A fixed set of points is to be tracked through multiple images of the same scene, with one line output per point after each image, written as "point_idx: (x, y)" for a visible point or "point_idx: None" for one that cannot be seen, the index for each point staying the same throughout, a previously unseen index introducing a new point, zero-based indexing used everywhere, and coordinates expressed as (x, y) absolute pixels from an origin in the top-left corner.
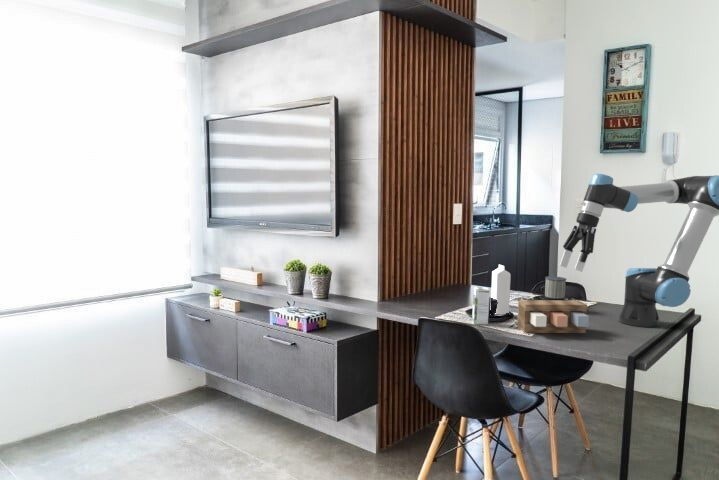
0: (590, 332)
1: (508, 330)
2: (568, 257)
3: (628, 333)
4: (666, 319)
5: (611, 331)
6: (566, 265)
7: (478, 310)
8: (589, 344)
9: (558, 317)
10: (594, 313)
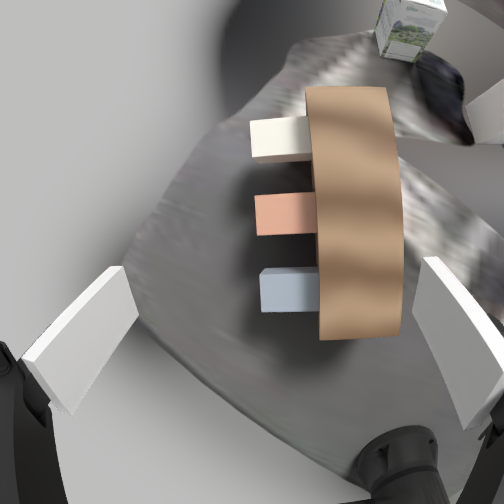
0: None
1: None
2: (449, 363)
3: (311, 407)
4: None
5: (332, 379)
6: (419, 317)
7: (382, 15)
8: (202, 267)
9: (256, 200)
10: None
